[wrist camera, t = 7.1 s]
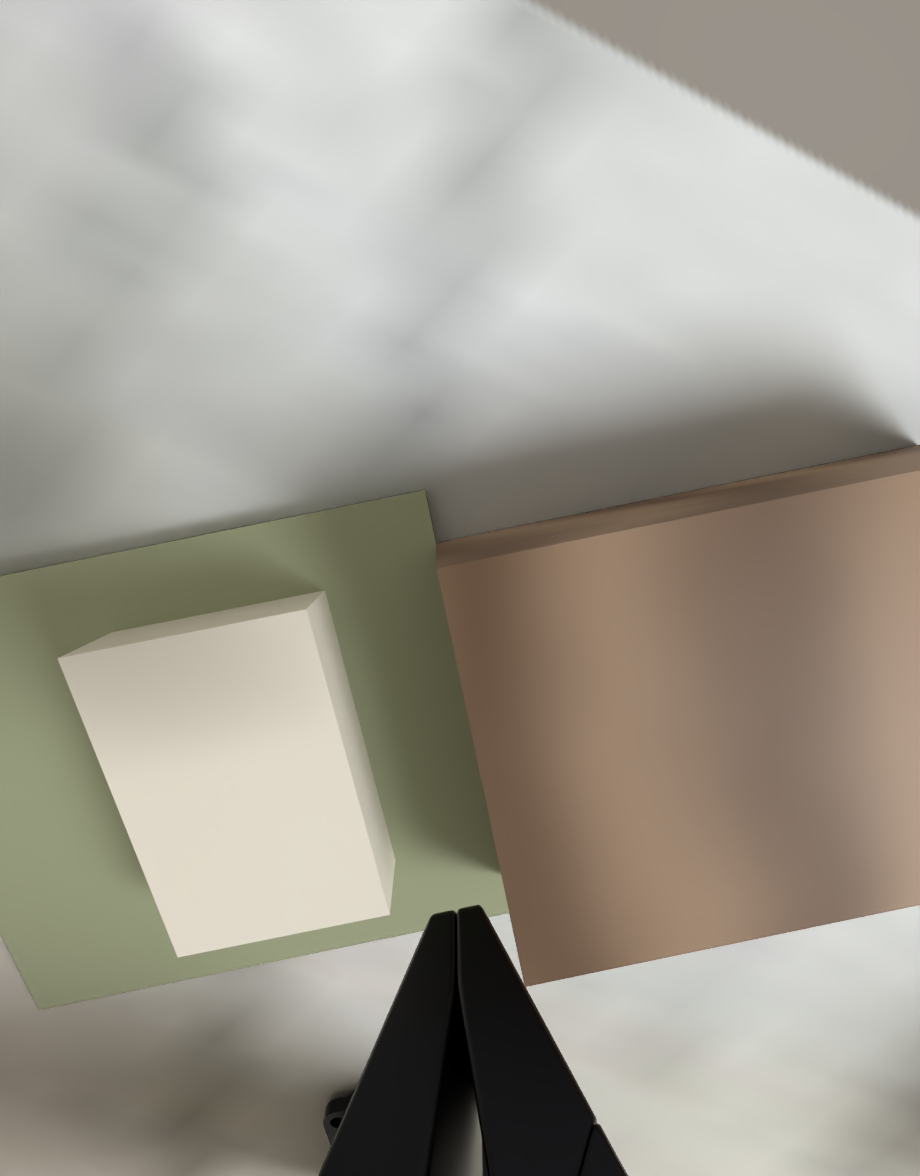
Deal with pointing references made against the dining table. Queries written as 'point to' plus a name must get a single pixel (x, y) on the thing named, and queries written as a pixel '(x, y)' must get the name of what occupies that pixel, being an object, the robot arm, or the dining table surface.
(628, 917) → the brown flat block
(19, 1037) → the dining table surface
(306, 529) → the mat
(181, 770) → the cream chamfered block
